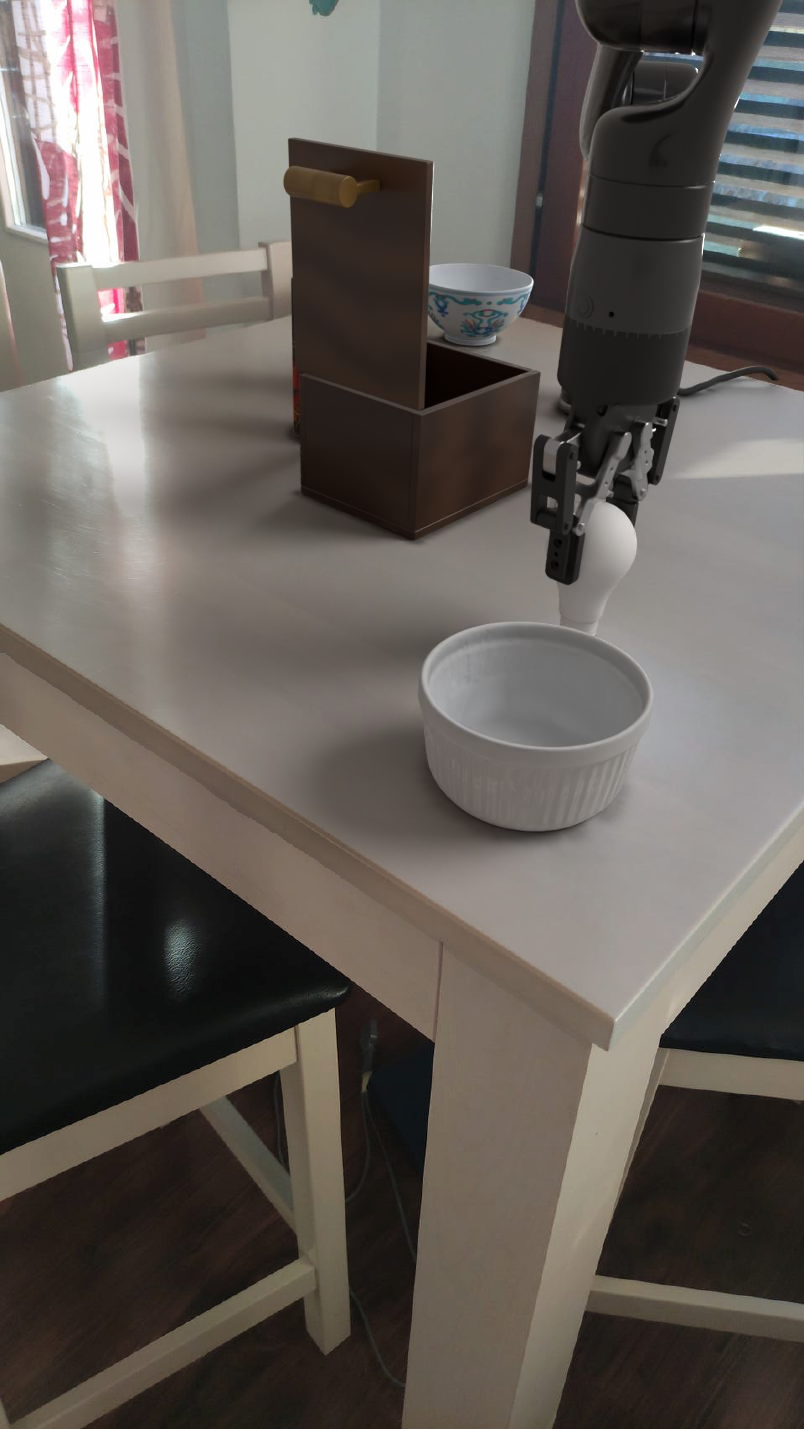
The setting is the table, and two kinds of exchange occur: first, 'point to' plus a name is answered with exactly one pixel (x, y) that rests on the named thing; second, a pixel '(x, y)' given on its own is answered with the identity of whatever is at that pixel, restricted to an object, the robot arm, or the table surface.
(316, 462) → the chest
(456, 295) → the chinaware
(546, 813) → the ramekin
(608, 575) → the lightbulb
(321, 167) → the lid
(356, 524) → the table surface
